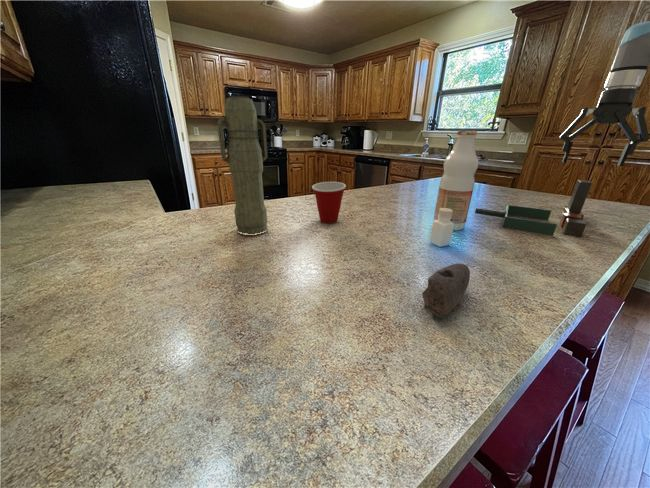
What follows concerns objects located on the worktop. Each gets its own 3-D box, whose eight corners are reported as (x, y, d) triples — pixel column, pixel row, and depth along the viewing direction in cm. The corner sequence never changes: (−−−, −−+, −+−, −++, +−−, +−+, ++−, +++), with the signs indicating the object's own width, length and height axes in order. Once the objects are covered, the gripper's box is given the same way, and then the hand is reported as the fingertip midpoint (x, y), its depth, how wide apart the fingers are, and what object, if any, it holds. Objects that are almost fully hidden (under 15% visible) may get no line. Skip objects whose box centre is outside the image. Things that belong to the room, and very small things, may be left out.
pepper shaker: (438, 240, 74) (445, 206, 71) (450, 245, 71) (458, 210, 67) (428, 242, 73) (434, 208, 69) (439, 247, 69) (446, 212, 66)
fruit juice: (426, 223, 87) (441, 130, 76) (447, 219, 91) (464, 130, 80) (449, 232, 80) (470, 130, 69) (471, 228, 83) (494, 131, 72)
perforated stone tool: (448, 281, 54) (455, 249, 51) (476, 291, 51) (485, 258, 48) (411, 313, 44) (417, 277, 42) (442, 329, 41) (451, 290, 38)
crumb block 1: (575, 226, 86) (579, 214, 85) (577, 230, 83) (582, 217, 82) (559, 224, 88) (563, 212, 87) (560, 227, 85) (565, 215, 84)
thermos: (277, 231, 79) (269, 97, 65) (237, 239, 73) (219, 93, 59) (266, 223, 86) (256, 100, 72) (228, 230, 80) (210, 96, 66)
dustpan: (547, 220, 92) (551, 210, 91) (553, 235, 78) (557, 224, 77) (477, 209, 103) (479, 200, 102) (471, 221, 89) (473, 211, 88)
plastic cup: (305, 221, 88) (304, 184, 83) (326, 214, 96) (326, 180, 91) (330, 228, 82) (331, 189, 77) (351, 220, 89) (353, 184, 85)
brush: (574, 215, 98) (589, 179, 93) (580, 224, 89) (596, 184, 83) (560, 213, 100) (574, 178, 95) (565, 221, 91) (580, 183, 85)
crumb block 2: (578, 233, 81) (583, 220, 79) (581, 237, 78) (586, 224, 76) (561, 230, 83) (566, 218, 81) (563, 234, 80) (568, 221, 78)
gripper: (678, 88, 75) (641, 166, 83) (564, 92, 87) (542, 160, 96) (691, 84, 69) (650, 168, 78) (567, 90, 82) (543, 162, 90)
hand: (590, 164), depth 87 cm, fingers open, 13 cm apart
